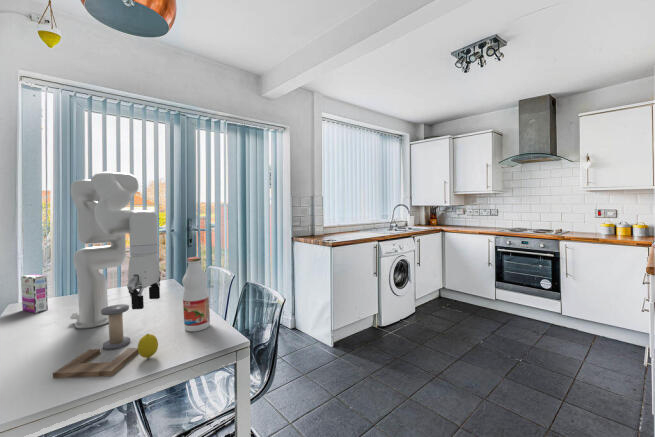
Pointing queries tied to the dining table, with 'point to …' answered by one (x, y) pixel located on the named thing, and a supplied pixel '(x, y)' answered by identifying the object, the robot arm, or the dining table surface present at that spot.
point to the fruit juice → (195, 297)
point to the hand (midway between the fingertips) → (146, 303)
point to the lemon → (147, 345)
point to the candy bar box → (34, 293)
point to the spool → (115, 327)
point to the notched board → (94, 365)
